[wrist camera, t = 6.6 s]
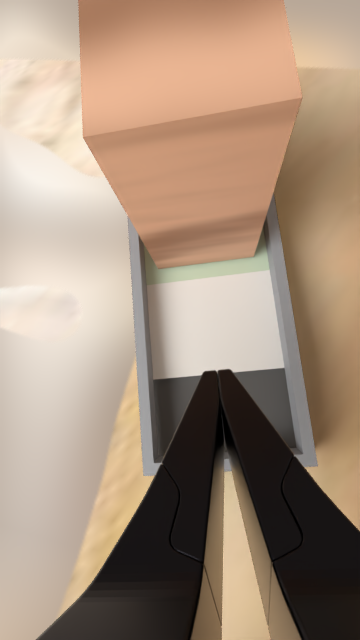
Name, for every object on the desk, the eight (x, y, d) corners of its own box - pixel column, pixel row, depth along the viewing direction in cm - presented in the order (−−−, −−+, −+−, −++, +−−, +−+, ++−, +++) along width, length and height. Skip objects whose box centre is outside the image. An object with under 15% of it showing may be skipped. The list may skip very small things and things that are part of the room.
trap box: (306, 455, 17) (317, 466, 15) (151, 464, 18) (143, 475, 16) (254, 123, 21) (258, 98, 19) (130, 145, 22) (121, 123, 20)
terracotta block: (253, 256, 19) (302, 97, 8) (158, 269, 19) (82, 137, 9) (241, 170, 20) (269, -73, 9) (151, 184, 20) (77, -26, 10)
